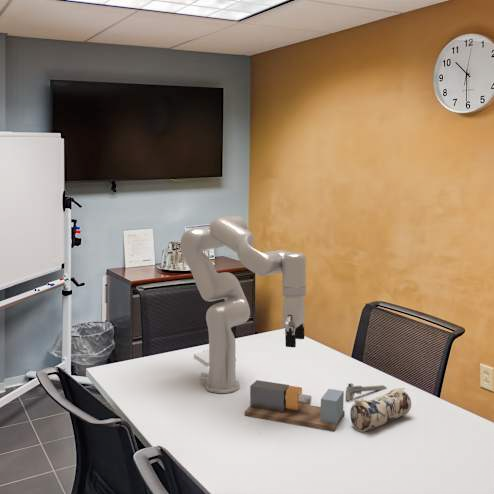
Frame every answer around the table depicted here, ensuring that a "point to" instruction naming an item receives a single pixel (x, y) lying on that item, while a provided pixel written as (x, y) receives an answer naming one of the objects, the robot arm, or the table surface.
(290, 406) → the tube
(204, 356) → the mounting plate
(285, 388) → the sleeve
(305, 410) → the board
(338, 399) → the socket
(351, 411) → the pencil case
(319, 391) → the table surface
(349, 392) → the caliper
